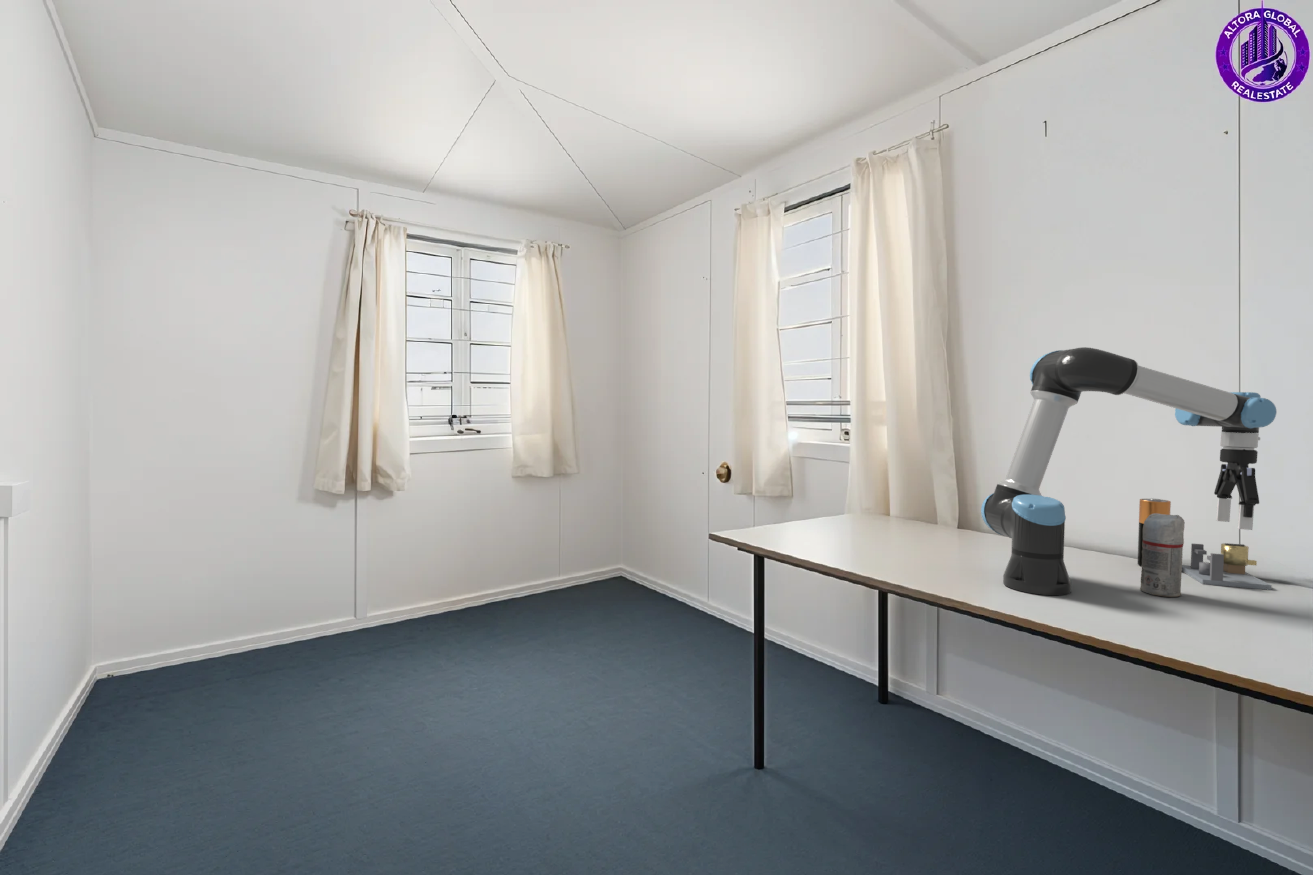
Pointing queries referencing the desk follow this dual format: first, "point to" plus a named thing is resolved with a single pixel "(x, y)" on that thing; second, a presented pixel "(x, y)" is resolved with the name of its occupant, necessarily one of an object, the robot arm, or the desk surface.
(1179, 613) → the desk surface
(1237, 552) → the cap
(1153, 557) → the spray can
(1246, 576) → the base
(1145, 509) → the battery
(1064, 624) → the desk surface
